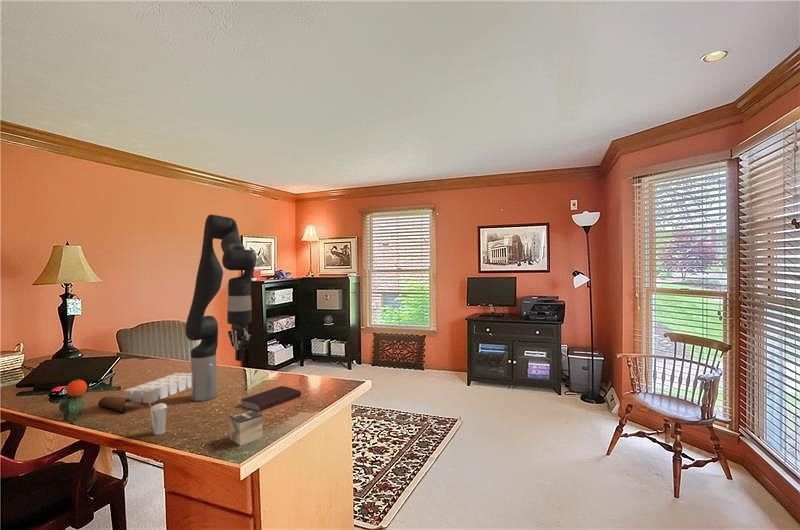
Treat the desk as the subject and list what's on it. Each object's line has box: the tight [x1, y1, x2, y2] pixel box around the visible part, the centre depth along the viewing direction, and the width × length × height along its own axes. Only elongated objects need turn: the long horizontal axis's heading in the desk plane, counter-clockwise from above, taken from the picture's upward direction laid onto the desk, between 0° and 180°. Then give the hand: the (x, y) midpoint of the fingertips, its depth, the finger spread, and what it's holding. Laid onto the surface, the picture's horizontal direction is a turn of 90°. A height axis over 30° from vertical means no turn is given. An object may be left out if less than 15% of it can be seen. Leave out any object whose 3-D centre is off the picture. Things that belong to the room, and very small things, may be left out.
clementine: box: [65, 379, 88, 398], centre depth 164 cm, size 8×7×7 cm
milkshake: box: [147, 402, 168, 436], centre depth 124 cm, size 4×5×10 cm
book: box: [240, 385, 302, 413], centre depth 152 cm, size 12×19×3 cm, turn 145°
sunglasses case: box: [97, 396, 145, 414], centre depth 149 cm, size 18×7×7 cm, turn 62°
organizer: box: [123, 371, 191, 404], centre depth 171 cm, size 13×5×35 cm
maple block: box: [228, 409, 264, 446], centre depth 118 cm, size 7×7×7 cm
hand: (239, 360), depth 129 cm, fingers closed
